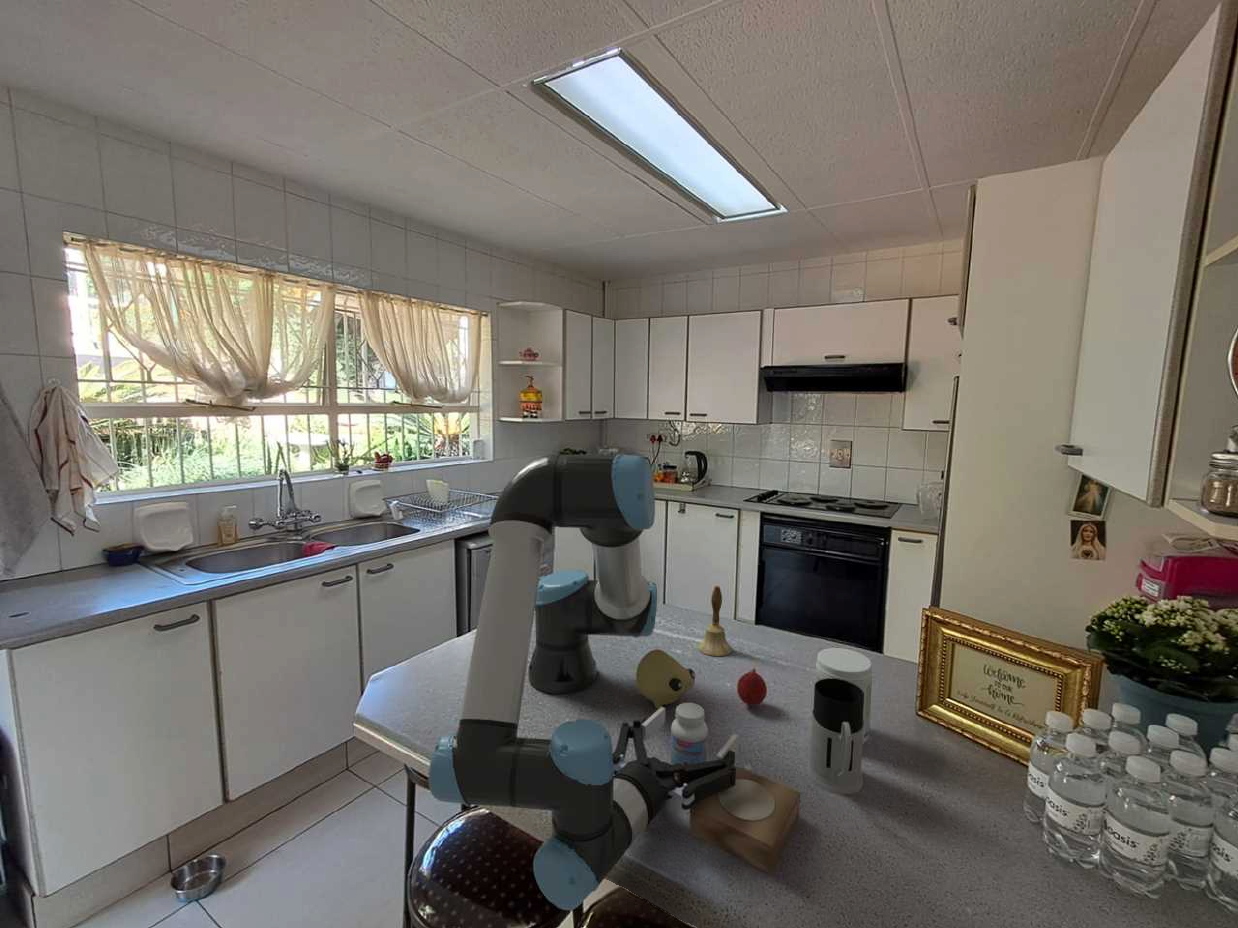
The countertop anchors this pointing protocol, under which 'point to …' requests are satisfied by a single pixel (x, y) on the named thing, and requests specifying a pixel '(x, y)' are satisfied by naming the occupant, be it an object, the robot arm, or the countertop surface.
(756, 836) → the walnut plinth
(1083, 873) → the countertop surface
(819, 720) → the glass holder
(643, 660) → the toy pig
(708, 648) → the hand bell
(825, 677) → the supplement tub
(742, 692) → the onion
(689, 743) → the pill bottle
